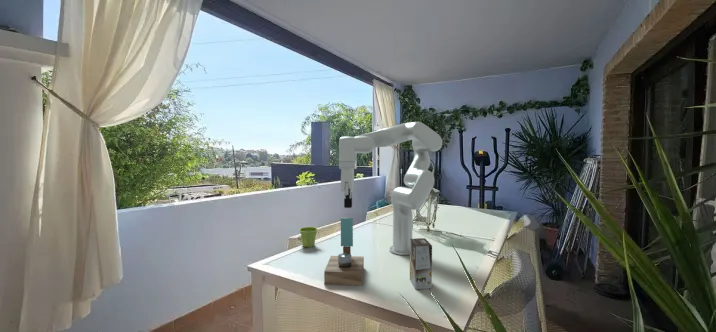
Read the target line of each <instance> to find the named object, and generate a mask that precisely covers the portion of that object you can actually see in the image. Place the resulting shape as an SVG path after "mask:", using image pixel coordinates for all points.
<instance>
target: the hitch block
mask: <svg viewBox="0 0 716 332" xmlns="http://www.w3.org/2000/svg"><path fill="white" fill-rule="evenodd" d="M351 247H352V246H342V253H348V254H351V267H349V268H340V267H339V266H338V255H330V257H329V260H328V262H327V264H326V267H325V269H324V271H323V272H324V273H323V279H324V281H323V282H324V285H335V286H336V285H338V286H339V285H340V286H362V284H363V278H364V269H365V266H364V265H365V262H364V260H365V257H364V256H358V255H357V256H356V255H352V253H351V251H352V250H351Z"/></svg>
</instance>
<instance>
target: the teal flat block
mask: <svg viewBox="0 0 716 332" xmlns="http://www.w3.org/2000/svg"><path fill="white" fill-rule="evenodd" d="M343 246H351V247H354V225H353V217H340V247H343Z"/></svg>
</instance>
